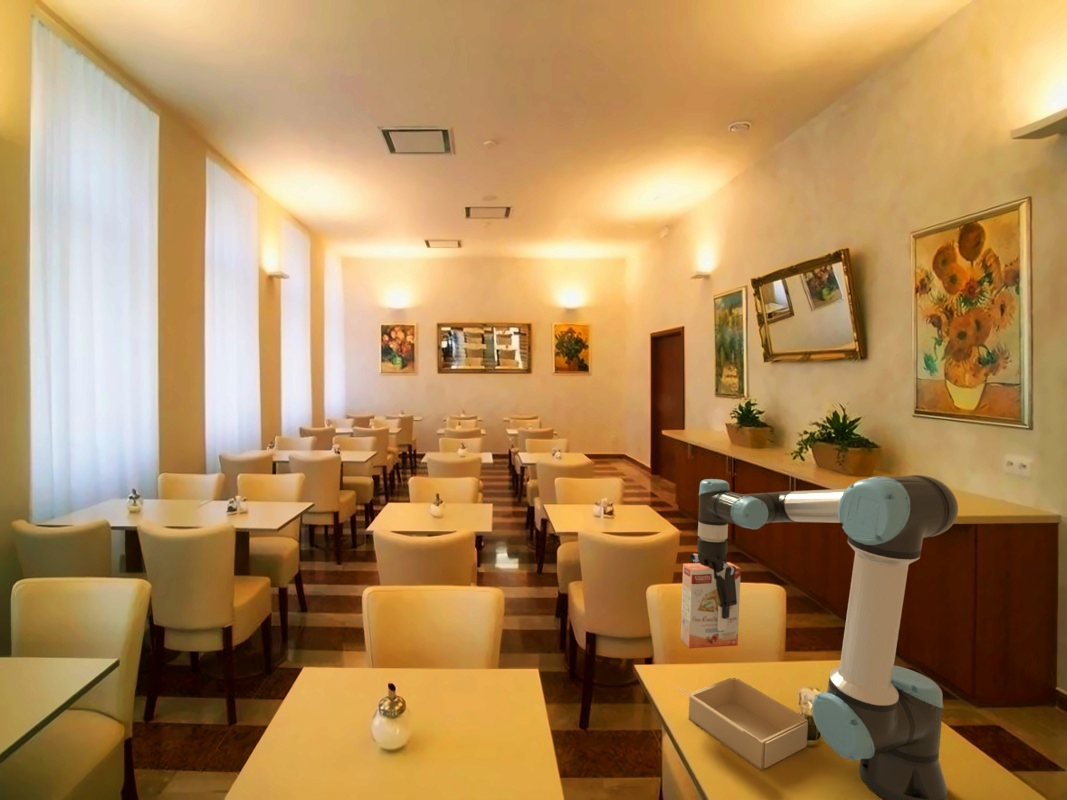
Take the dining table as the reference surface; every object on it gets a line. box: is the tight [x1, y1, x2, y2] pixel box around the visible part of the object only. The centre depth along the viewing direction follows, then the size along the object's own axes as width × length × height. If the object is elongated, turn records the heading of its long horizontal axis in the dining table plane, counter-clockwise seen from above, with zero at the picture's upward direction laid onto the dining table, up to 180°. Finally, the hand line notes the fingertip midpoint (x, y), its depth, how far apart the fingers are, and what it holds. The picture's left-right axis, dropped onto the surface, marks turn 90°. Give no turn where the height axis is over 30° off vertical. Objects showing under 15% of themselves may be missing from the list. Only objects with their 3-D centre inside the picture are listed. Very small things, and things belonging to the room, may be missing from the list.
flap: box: [676, 686, 758, 741], centre depth 126 cm, size 19×1×6 cm
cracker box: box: [680, 561, 742, 649], centre depth 151 cm, size 14×6×21 cm, turn 101°
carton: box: [688, 677, 809, 771], centre depth 132 cm, size 21×16×6 cm
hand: (709, 623), depth 151 cm, fingers closed on cracker box, 7 cm apart
